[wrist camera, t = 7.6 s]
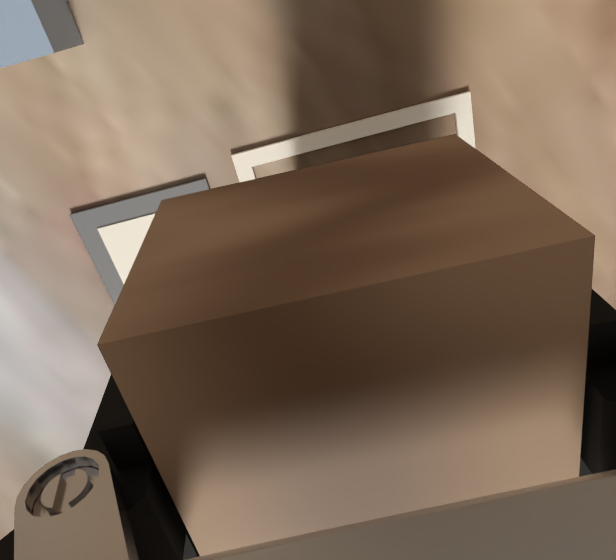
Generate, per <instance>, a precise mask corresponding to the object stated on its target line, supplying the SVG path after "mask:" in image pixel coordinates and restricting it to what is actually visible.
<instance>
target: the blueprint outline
mask: <svg viewBox="0 0 616 560" xmlns="http://www.w3.org/2000/svg"><path fill="white" fill-rule="evenodd" d="M452 113H454V114H455V123H456V133H457V136H459V137H460V138H461V139H463V140H464V141H465V142H467V143H468V144H470V145H471V146H472V147H474V148H475V137H474V127H473V116H472V105H471V94H470V91H467V92H463V93H459V94H455V95H452V96H448V97H444V98H440V99H437V100H433V101H429V102H425V103H422V104H418V105H414V106H410V107H407V108H403V109H399V110H396V111H392V112H388V113H384V114H381V115H377V116H373V117H369V118H366V119H362V120H358V121H354V122H351V123H347V124H343V125H339V126H336V127H332V128H328V129H324V130H321V131H317V132H313V133H309V134H306V135H302V136H298V137H294V138H291V139H287V140H283V141H279V142H276V143H272V144H268V145H264V146H261V147H257V148H253V149H249V150H246V151H242V152H238V153H235V154H231V156H232V159H233V163H234V166H235V169H236V172H237V175H238V178H239V181H240V182H244V181H248V180H253V179H256V178H255V175H254V172H253V168H252V167H253V166H256V165H260V164H264V163H268V162H272V161H275V160H279V159H283V158H287V157H290V156H294V155H298V154H302V153H305V152H309V151H313V150H317V149H321V148H324V147H328V146H332V145H336V144H339V143H343V142H347V141H351V140H354V139H358V138H362V137H366V136H370V135H373V134H377V133H381V132H385V131H388V130H392V129H396V128H400V127H403V126H407V125H411V124H415V123H418V122H422V121H426V120H430V119H434V118H437V117H441V116H445V115H449V114H452ZM475 149H476V148H475Z"/></svg>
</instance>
